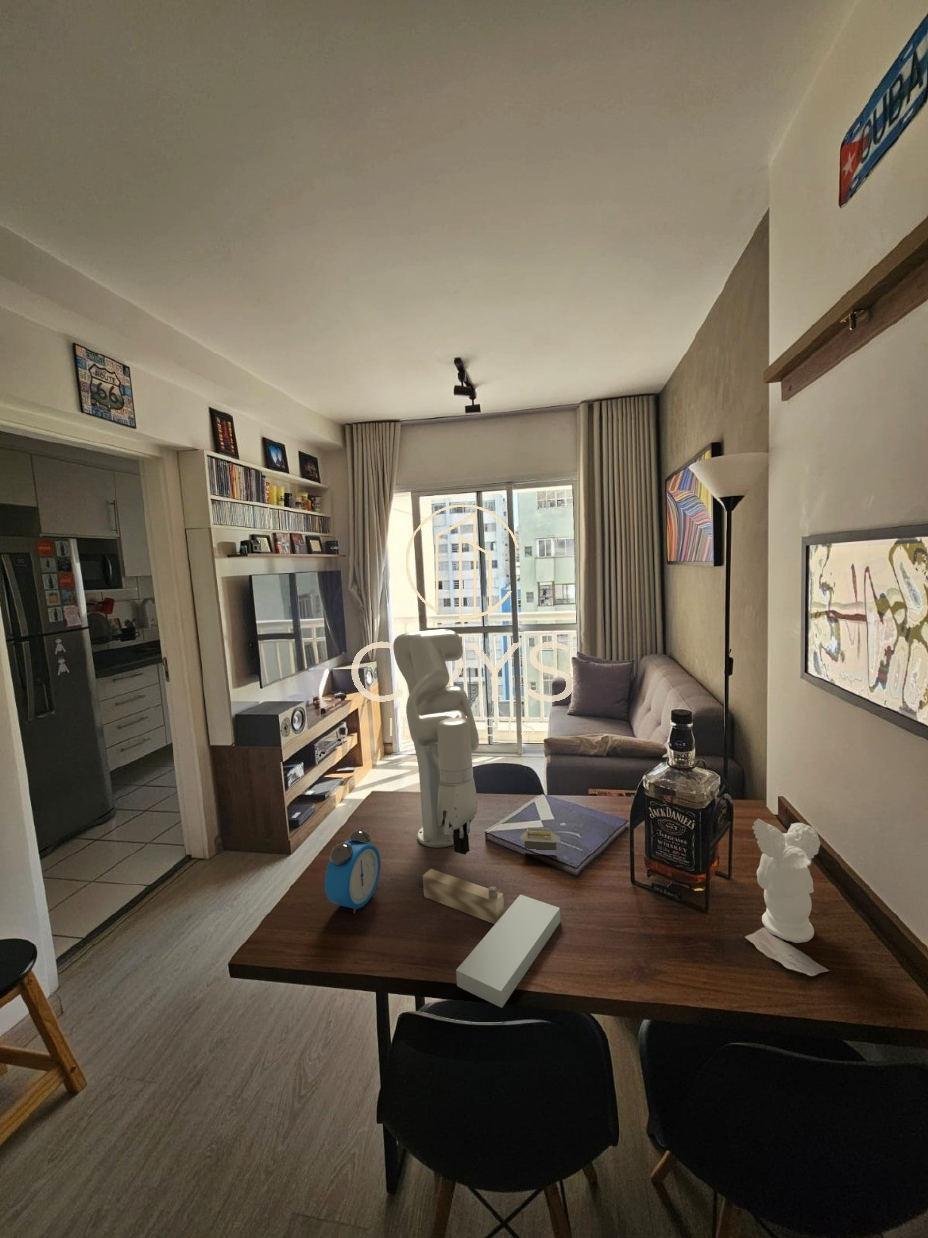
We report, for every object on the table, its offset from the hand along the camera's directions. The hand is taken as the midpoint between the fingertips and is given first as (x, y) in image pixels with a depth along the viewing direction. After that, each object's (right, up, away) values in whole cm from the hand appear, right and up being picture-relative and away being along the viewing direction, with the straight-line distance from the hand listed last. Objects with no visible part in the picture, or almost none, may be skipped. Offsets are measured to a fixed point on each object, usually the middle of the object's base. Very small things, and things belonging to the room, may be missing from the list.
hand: (461, 851), depth 119 cm
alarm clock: (-24, -10, -3) cm, 26 cm away
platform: (+20, -6, +12) cm, 24 cm away
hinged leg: (0, -8, -7) cm, 11 cm away
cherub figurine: (+63, -7, -20) cm, 66 cm away
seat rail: (+10, -10, -21) cm, 25 cm away
